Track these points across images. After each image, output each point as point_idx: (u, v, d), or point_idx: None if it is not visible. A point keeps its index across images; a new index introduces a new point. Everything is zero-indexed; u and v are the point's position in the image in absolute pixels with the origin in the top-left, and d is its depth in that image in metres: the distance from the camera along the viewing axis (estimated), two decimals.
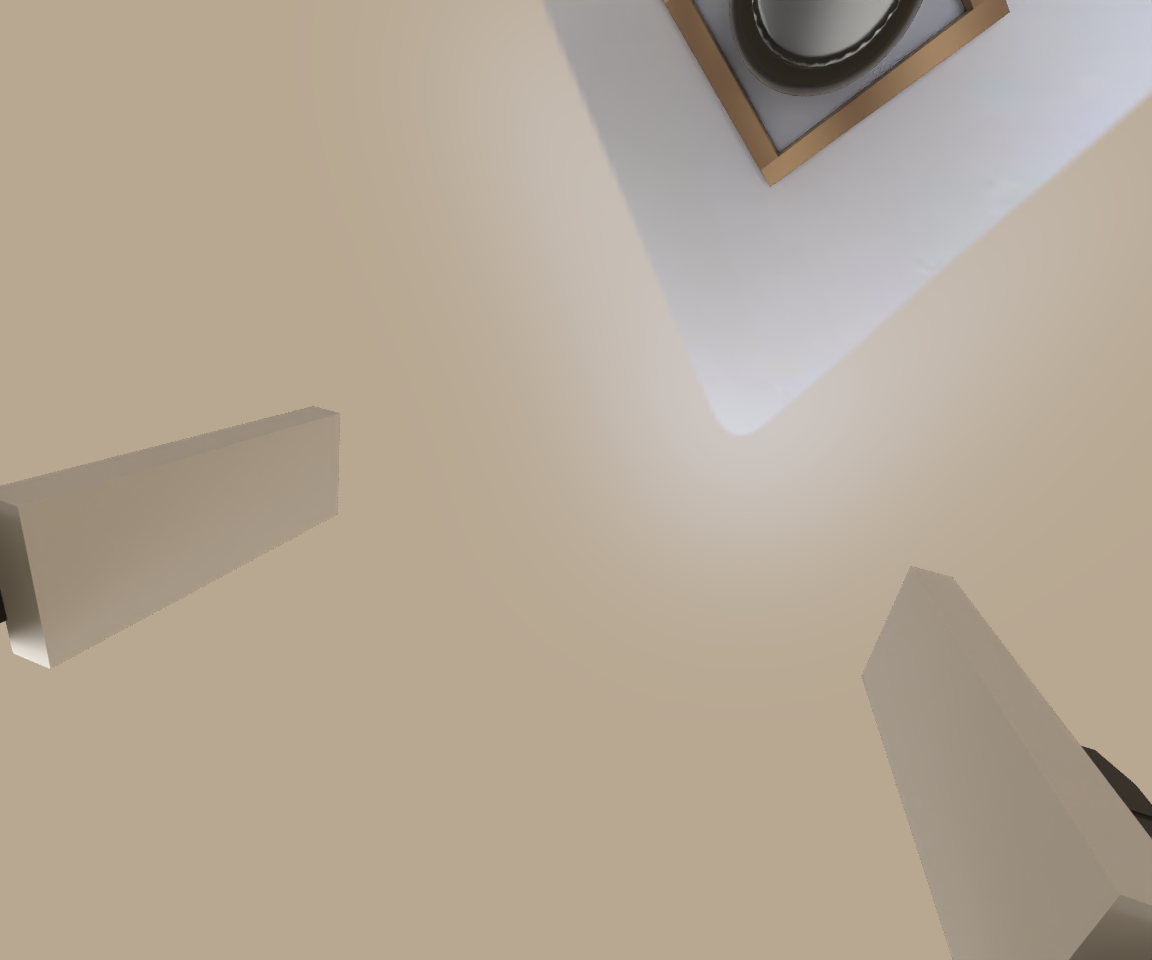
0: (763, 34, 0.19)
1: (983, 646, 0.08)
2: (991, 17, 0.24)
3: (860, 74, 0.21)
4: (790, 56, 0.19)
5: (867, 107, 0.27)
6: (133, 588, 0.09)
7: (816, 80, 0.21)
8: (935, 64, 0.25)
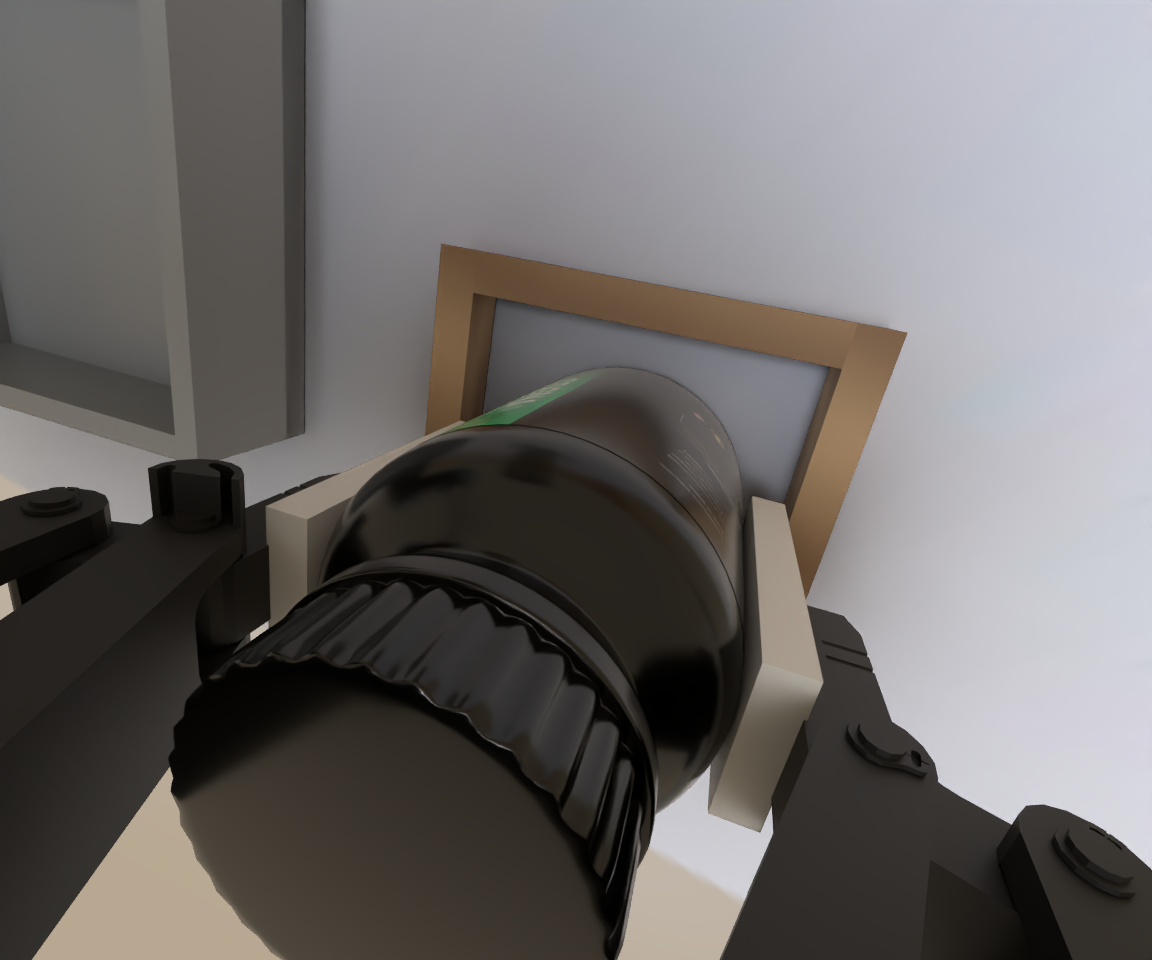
0: None
1: (773, 544, 0.11)
2: (883, 357, 0.12)
3: (720, 746, 0.08)
4: None
5: (804, 563, 0.14)
6: None
7: None
8: (856, 457, 0.13)
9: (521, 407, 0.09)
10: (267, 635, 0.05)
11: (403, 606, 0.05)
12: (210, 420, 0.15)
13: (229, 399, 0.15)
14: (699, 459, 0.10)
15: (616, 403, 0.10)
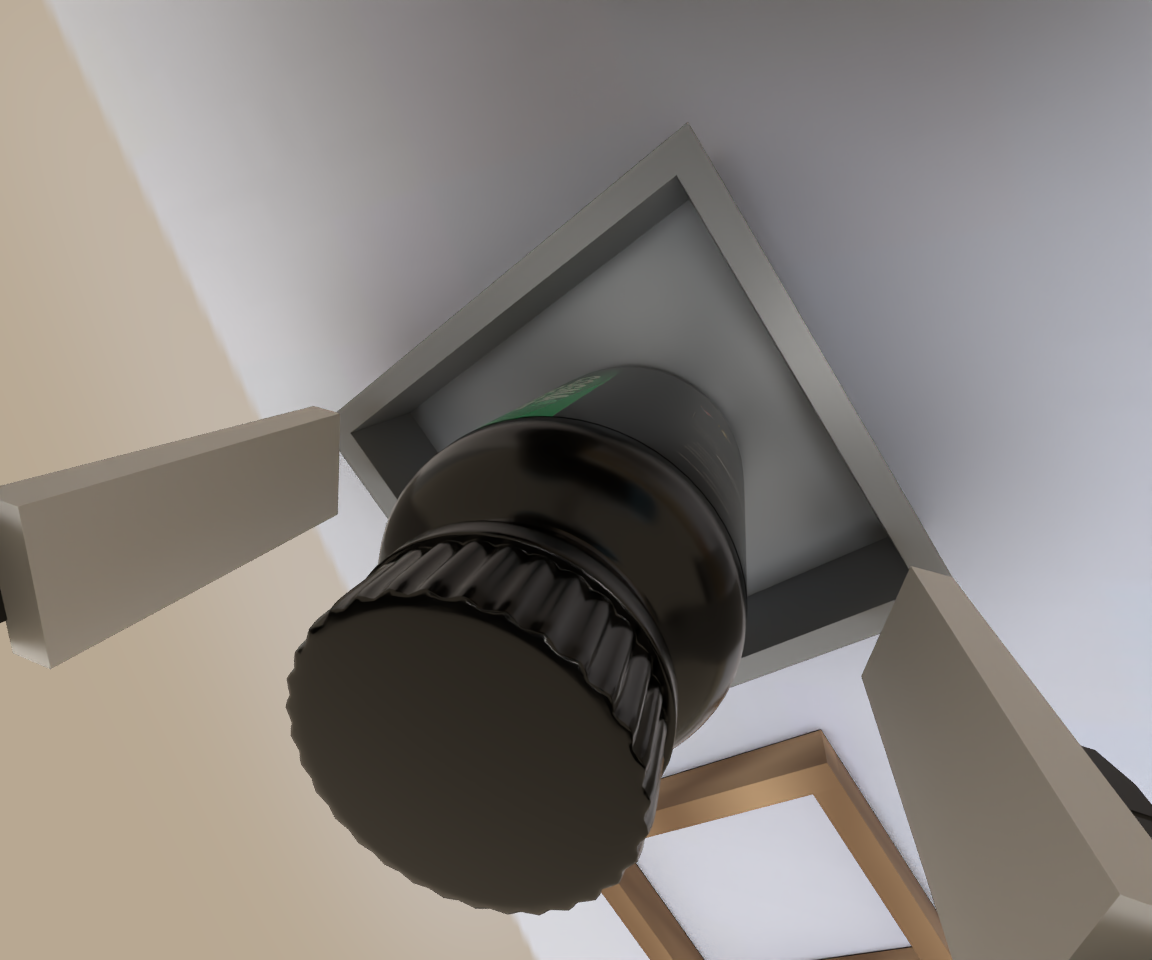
0: (437, 892, 0.07)
1: (983, 646, 0.08)
2: None
3: (725, 692, 0.09)
4: (517, 908, 0.07)
5: None
6: (133, 588, 0.09)
7: None
8: None
9: (557, 401, 0.11)
10: (375, 579, 0.07)
11: (482, 559, 0.07)
12: None
13: None
14: (710, 451, 0.11)
15: (638, 400, 0.12)
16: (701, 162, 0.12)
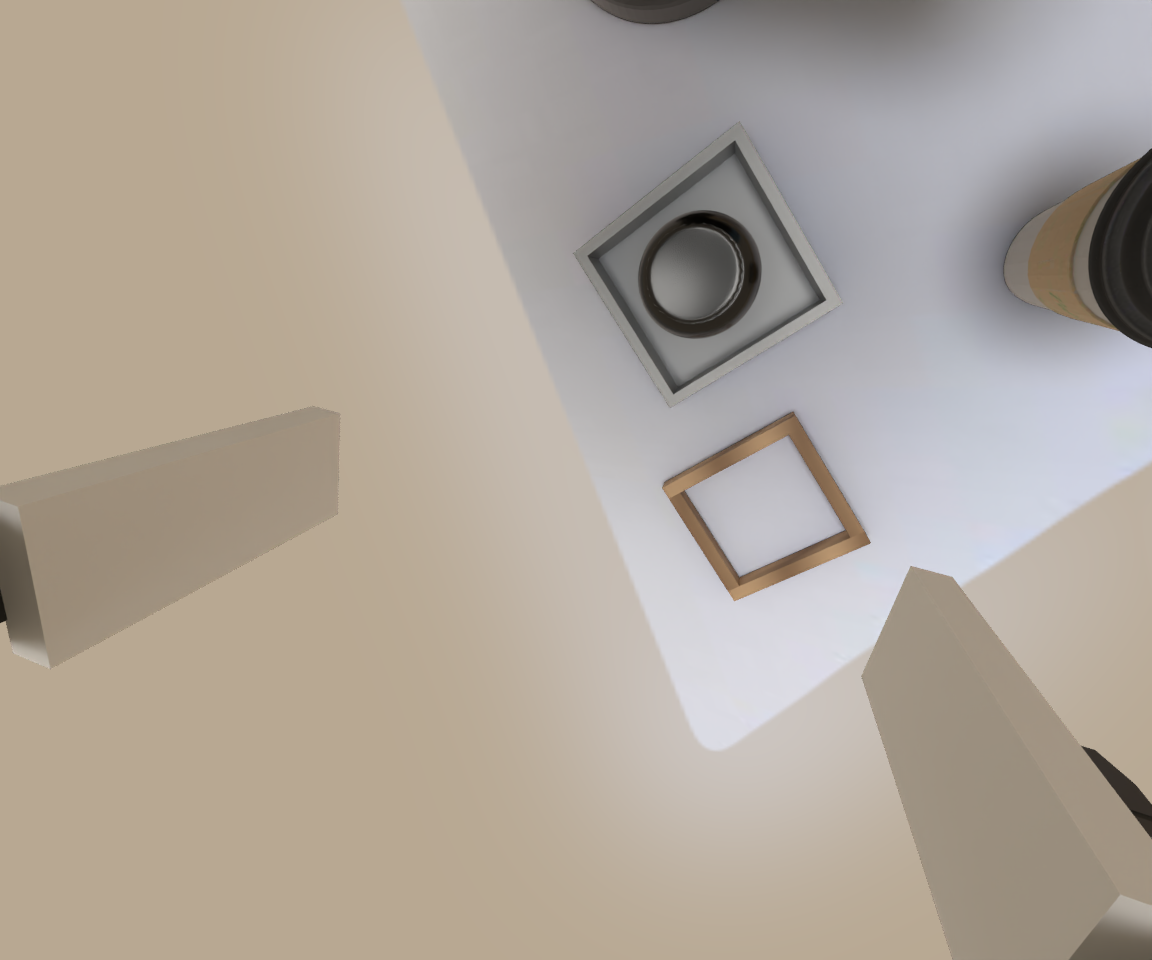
0: (682, 321, 0.29)
1: (983, 646, 0.08)
2: (861, 543, 0.41)
3: (755, 294, 0.30)
4: (705, 318, 0.28)
5: (793, 571, 0.43)
6: (133, 588, 0.09)
7: (732, 315, 0.31)
8: (832, 558, 0.42)
9: None
10: None
11: None
12: None
13: None
14: None
15: None
16: (744, 135, 0.33)
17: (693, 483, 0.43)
